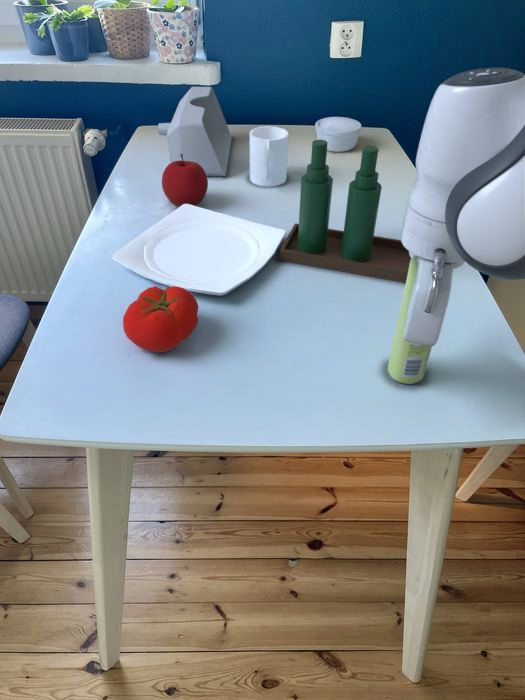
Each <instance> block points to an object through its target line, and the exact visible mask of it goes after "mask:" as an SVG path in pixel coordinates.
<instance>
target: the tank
mask: <svg viewBox="0 0 525 700" xmlns="http://www.w3.org/2000/svg"><path fill="white" fill-rule="evenodd" d="M157 130H158V131H157V132H158V135H159V136H166V138H167V147H168V155H169V160H170V162H171V163H172V162H174V161H182V158H181V155H180V154H182V155H183V161H191V162H196V163H198V164H199V165H201V167H202V168H203V169H204V171H205V173H206V176H207V177H226V176H227V170H228V164H229V158H230V150H231V145H232V135H231V132H230V129H229V126H228V124H227V122H226V119H225V117H224V113H223V111H222V108H221V106H220V103H219V100H218V98H217V96H216V93H215V90H214V89H213V87H212V86H191V87H190V89H189V90H188V91H187V92H186V93H185V94H184V96H183V97H182V98H181V99H180V100H179V102H178V105H177V107H176V109H175V112H174V114H173V117H172V119H171V121H170V122H158V126H157Z"/></svg>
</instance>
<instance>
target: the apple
mask: <svg viewBox="0 0 525 700" xmlns="http://www.w3.org/2000/svg"><path fill="white" fill-rule="evenodd" d="M180 155H181V158H182V161H174V162H172V161H171V162H170V163H168V165H167V166H165V169H163V173H162V176H161V188H162V192H163V194H164V195H165V197H166V198H167V200H168V201H169V202H170V203H171V204H172V205H173V206H175V207H178V208H179V207H180V206H182V205H183V204H190V205H193V206H199V205H200V204H201V203H202V202H203V200H204V199H205V197H206V195H207V192H208V188H209V180H208V176H206V173H205V171H204V169H203V168H202V167H201V165H199V164H198V163H196V162H191V161H183V155H182V154H180Z"/></svg>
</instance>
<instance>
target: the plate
mask: <svg viewBox="0 0 525 700" xmlns="http://www.w3.org/2000/svg"><path fill="white" fill-rule="evenodd" d="M286 234H287V231H286V230H285V229H281V228H278V227H275V226H270V225H267V224H264V223H263V224H262V223H258V222H254V221H251V220H247V219H244V218H240V217H236V216H232V215H229V214H225V213H222V212H217V211H214V210H211V209H207V208H204V207H200V206H198V205H196V206H193V205H190V204H183V205H182V206H180V207H179V206H178V207H177V208H176V209H174V210H173V211H171V212H170V213H169V214H166V216H165V217H163V218H161V219H160V220H158V221H157V222H156V223H154V224H153V225H151V226H150V227H148V228H147V229H145V230H144V231H143V232H141V233H140V234H138V235H137V236H136V237H135V238H133V239H132V240H130V241H129V242H128V243H126V244H124V245H123V246H122V247H121V248H119V249H118V250H117V251H115V252H114V253H113V254H111V258H112V260H113V261H115V262H117V263H118V264H120V265H122V266H124V267H126V268H127V269H128V270H131V271H132V272H134V273H136V274H138V275H140V276H142V277H143V278H145V279H147V280H148V279H149V280H150V281H153V282H156V283H158V284H161V285H164V286H168V287H172V286H177V287H181V288H184V289H186V290H187V291H188V292H190V293H192V292H193V293H198V294H206V295H211V296H224V295H227V294H228V293H229V292H231V291H233V290H234V289H236V288H238V287H239V286H241V285H243V284H244V283H246V282H247V281H249V280H251V279H252V278H253V277H254V276H255V275H256V274H258V272H259V271H260V270H262V268H264V266H265V265H266V264H267V263H269V261H270V260H271V259H272V258H273V257H274V255H275V254H276V252H277V250H278V248H279V247H280V245H281V243H282V241H283V239H284V238H285V236H286Z"/></svg>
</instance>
